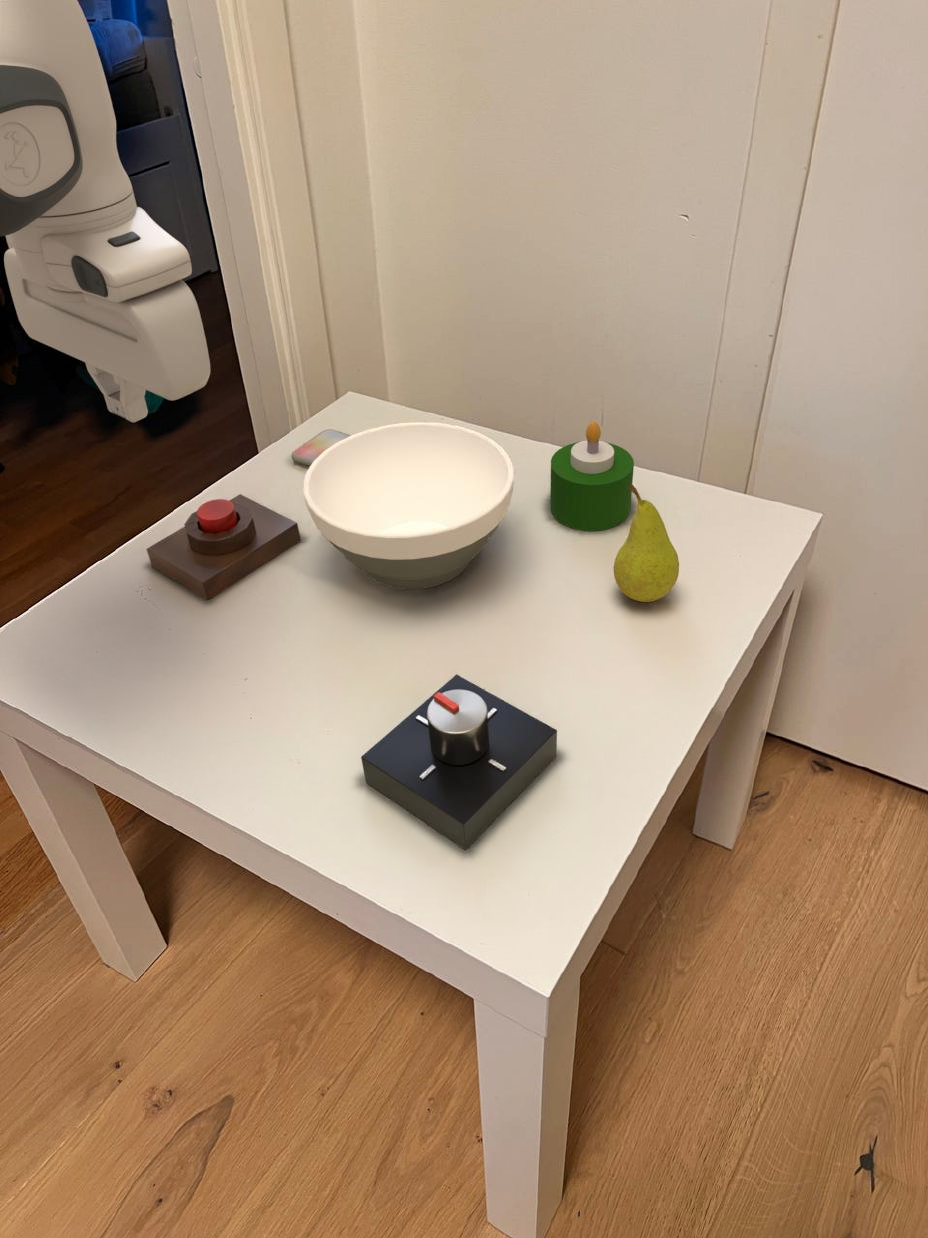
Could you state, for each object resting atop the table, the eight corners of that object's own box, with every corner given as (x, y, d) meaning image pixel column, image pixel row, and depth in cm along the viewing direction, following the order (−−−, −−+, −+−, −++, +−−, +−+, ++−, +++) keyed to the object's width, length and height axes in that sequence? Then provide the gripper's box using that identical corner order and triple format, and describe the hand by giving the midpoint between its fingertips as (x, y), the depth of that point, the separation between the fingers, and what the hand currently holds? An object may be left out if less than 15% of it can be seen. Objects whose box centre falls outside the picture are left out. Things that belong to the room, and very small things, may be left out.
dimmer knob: (501, 741, 70) (499, 706, 68) (459, 775, 68) (456, 740, 65) (459, 712, 73) (456, 677, 70) (418, 744, 70) (413, 709, 68)
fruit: (687, 604, 85) (703, 493, 78) (631, 623, 84) (641, 512, 76) (653, 569, 90) (665, 461, 82) (599, 587, 88) (606, 477, 80)
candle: (586, 541, 93) (590, 453, 87) (534, 505, 99) (533, 420, 92) (647, 510, 97) (655, 424, 90) (593, 477, 102) (596, 393, 96)
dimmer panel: (465, 850, 67) (463, 823, 65) (365, 782, 72) (360, 755, 70) (556, 756, 73) (557, 728, 71) (458, 699, 78) (456, 672, 76)
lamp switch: (207, 600, 89) (198, 567, 87) (151, 566, 94) (140, 533, 91) (301, 540, 96) (294, 507, 93) (244, 510, 101) (236, 479, 98)
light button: (216, 539, 91) (212, 524, 90) (193, 526, 93) (189, 511, 91) (245, 521, 93) (241, 506, 92) (222, 509, 95) (218, 494, 93)
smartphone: (327, 426, 112) (431, 457, 105) (328, 433, 112) (432, 465, 106) (286, 454, 107) (392, 488, 100) (287, 461, 108) (393, 496, 101)
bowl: (549, 530, 95) (550, 448, 89) (450, 647, 83) (443, 561, 76) (389, 483, 103) (380, 405, 97) (277, 583, 91) (258, 501, 85)
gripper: (-37, 224, 70) (23, 393, 79) (127, 284, 60) (175, 470, 69) (38, 202, 74) (88, 366, 83) (204, 255, 64) (241, 436, 73)
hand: (129, 414), depth 76 cm, fingers closed
